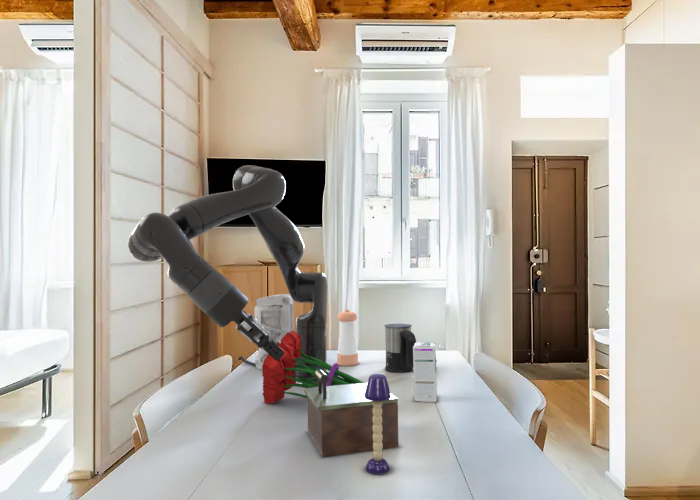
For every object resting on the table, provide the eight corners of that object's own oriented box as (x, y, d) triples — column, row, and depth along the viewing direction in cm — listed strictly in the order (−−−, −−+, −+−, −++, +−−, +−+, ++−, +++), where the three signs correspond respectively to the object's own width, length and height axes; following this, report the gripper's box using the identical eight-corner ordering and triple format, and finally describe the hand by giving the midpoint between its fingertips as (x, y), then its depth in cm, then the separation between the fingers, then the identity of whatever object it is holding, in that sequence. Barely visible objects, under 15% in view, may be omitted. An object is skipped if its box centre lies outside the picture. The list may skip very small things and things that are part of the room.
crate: (322, 457, 93) (321, 410, 93) (307, 432, 106) (307, 391, 106) (398, 447, 97) (397, 402, 97) (375, 424, 110) (375, 385, 110)
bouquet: (368, 444, 114) (249, 411, 119) (376, 420, 131) (271, 392, 136) (385, 362, 114) (265, 333, 119) (391, 349, 130) (285, 323, 135)
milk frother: (379, 369, 163) (378, 324, 163) (409, 361, 174) (409, 320, 174) (411, 376, 153) (410, 329, 153) (442, 368, 163) (441, 324, 163)
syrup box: (436, 402, 126) (435, 346, 126) (413, 401, 127) (412, 345, 127) (437, 396, 131) (436, 342, 132) (415, 395, 133) (414, 341, 133)
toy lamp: (364, 463, 89) (363, 372, 90) (389, 462, 90) (388, 371, 90) (367, 475, 85) (366, 379, 85) (393, 474, 85) (392, 378, 85)
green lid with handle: (317, 410, 92) (317, 381, 92) (303, 391, 105) (303, 366, 106) (397, 402, 97) (397, 374, 97) (375, 385, 110) (374, 360, 110)
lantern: (251, 369, 165) (250, 295, 165) (260, 362, 175) (259, 293, 176) (288, 370, 163) (287, 295, 164) (295, 363, 174) (294, 293, 174)
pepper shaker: (339, 361, 177) (338, 308, 177) (359, 361, 176) (358, 308, 176) (335, 365, 169) (335, 310, 170) (356, 366, 168) (355, 310, 169)
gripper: (233, 285, 88) (297, 345, 91) (230, 281, 102) (285, 333, 105) (203, 316, 87) (269, 375, 90) (204, 308, 100) (261, 359, 103)
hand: (278, 352), depth 97 cm, fingers open, 8 cm apart
